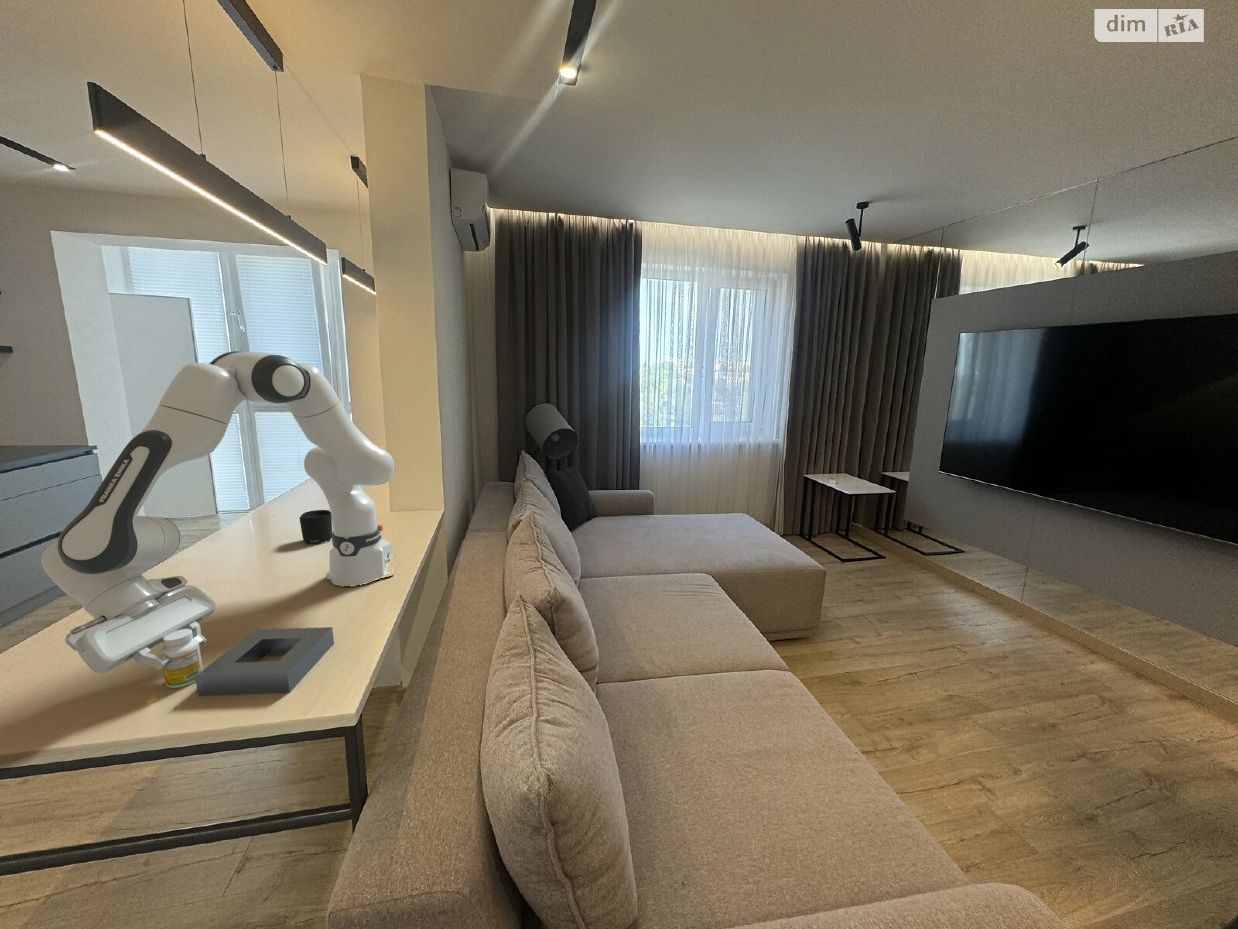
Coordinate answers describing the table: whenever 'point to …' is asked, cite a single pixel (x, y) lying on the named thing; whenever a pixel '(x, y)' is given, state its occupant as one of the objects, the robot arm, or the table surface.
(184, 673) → the supplement bottle
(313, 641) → the grey square frame
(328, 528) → the pen holder
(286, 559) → the table surface
